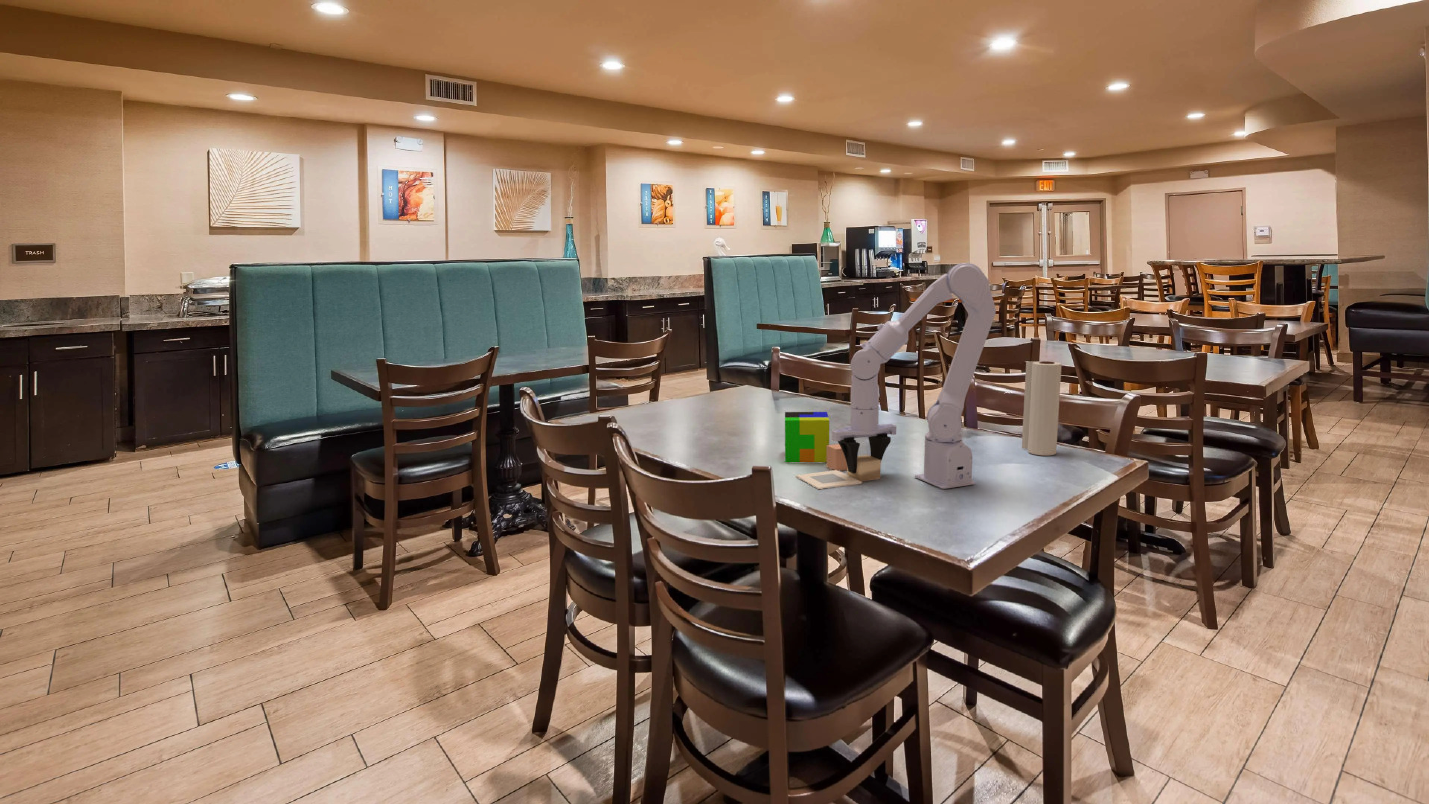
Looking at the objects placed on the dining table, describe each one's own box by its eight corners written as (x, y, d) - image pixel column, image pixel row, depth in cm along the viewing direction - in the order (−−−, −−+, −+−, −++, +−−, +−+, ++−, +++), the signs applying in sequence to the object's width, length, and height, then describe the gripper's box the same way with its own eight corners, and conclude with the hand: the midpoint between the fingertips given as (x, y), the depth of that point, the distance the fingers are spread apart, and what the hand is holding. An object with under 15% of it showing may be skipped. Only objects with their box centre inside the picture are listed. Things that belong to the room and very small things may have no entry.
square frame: (861, 483, 150) (861, 481, 150) (818, 489, 146) (818, 487, 146) (836, 471, 159) (836, 469, 159) (795, 477, 156) (795, 475, 155)
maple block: (880, 478, 153) (880, 460, 152) (859, 481, 151) (860, 462, 151) (867, 472, 158) (867, 454, 157) (847, 475, 156) (847, 457, 155)
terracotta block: (851, 469, 161) (851, 447, 160) (835, 471, 159) (835, 449, 159) (842, 465, 165) (842, 443, 164) (826, 467, 163) (826, 445, 162)
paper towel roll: (1060, 456, 168) (1066, 363, 164) (1034, 456, 168) (1039, 364, 164) (1047, 448, 175) (1052, 359, 171) (1021, 449, 175) (1026, 360, 171)
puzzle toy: (826, 452, 176) (827, 411, 175) (829, 463, 167) (829, 420, 165) (785, 452, 177) (784, 411, 176) (785, 463, 168) (784, 420, 166)
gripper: (883, 401, 158) (882, 462, 160) (824, 407, 153) (824, 469, 155) (902, 406, 152) (901, 470, 154) (841, 412, 147) (841, 478, 149)
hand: (863, 470), depth 154 cm, fingers closed on maple block, 5 cm apart
